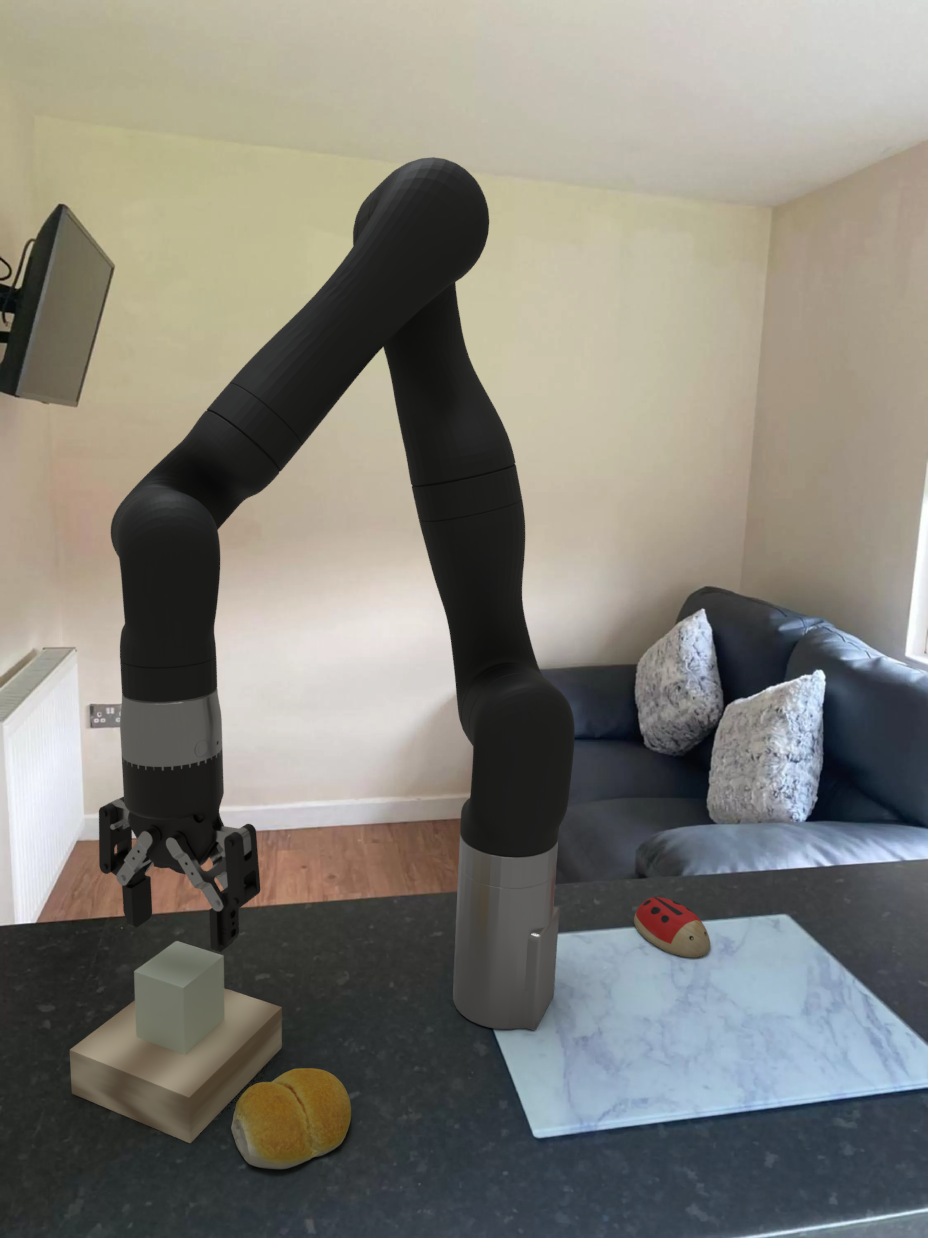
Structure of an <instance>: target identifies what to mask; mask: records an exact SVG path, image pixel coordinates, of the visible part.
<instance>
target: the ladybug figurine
mask: <svg viewBox="0 0 928 1238" xmlns="http://www.w3.org/2000/svg"><path fill="white" fill-rule="evenodd" d="M633 923H634V926H635V928H636V930H637V931H638V932H639V934H641V936H643V937H644V938H645V939H646V941H648V942H649V943H650V944H652V945H654V946H655V947H657V948H659V949H661V950H663V951H664V952H667V953H669V952H670V954H672V955H675V954H676V955H675V956H678V955H680V956H679V957H683V956H686V957H685V958H700V957H702V955H703V956H705V955H707V953H708V952H709V951H710V948H711V939H710V935H709V933H708V931H707V928H706V926H705V924H704V923H703V921H702V920H701V919H700V918H699V917H698V916H697V915H696V914H695V913H694V912H693V911H692V910H690V909H689V908H687V907H686V906H684V905H682V904H681V903H679V902H677V901H674V900H672V899H669V898H665V897H660V896H656V897H654V896H653V897H650V898H647V899H645V900H644V901H643V902H642V903H640V905H639V907H638V908H637V910H636V911H635V914H634V917H633ZM699 956H700V957H699Z"/></svg>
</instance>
